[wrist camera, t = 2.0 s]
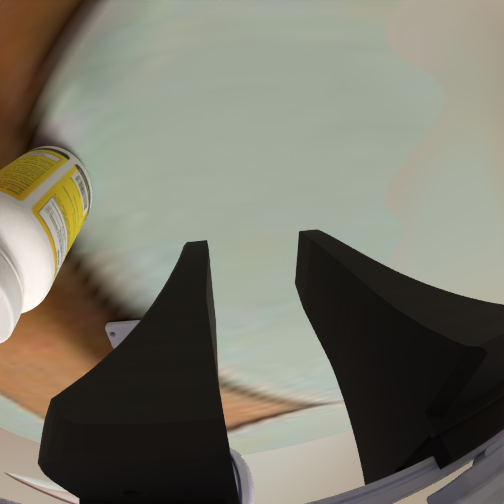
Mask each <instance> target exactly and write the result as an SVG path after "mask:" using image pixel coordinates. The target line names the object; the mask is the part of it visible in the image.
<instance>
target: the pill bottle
mask: <svg viewBox="0 0 504 504" xmlns="http://www.w3.org/2000/svg"><path fill="white" fill-rule="evenodd" d="M91 204H92V186H91V182H90V178H89V176H88V173H87V171H86V169H85V168H84V166H83V165H82V163H81V162H80V161H79V160H78V159H77V158H76V157H75V156H74V155H73V154H71V153H70V152H68V151H66V150H64V149H62V148H59V147H55V146H43V147H38V148H35V149H33V150H31V151H29V152H27V153H25V154H24V155H22V156H21V157H19V158H17V159H16V160H14V161H13V162H11V163H10V164H9V165H7V166H6V167H4V168H3V169H1V170H0V343H2V342H4V341H5V340H7V339H8V338H9V337H10V335H11V333H12V331H13V329H14V327H15V326H16V324H17V322H18V320H19V317H20V315H21V313H24V312H27V311H29V310H31V309H33V308H35V307H36V306H37V305H39V304H40V303H41V302H42V301H43V299H44V298H45V297H46V295H47V294H48V292H49V290H50V288H51V286H52V284H53V282H54V280H55V277H56V275H57V273H58V271H59V269H60V267H61V265H62V263H63V261H64V259H65V257H66V255H67V253H68V251H69V249H70V247H71V246H72V244H73V242H74V240H75V238H76V236H77V234H78V233H79V231H80V229H81V227H82V225H83V224H84V222H85V220H86V218H87V216H88V214H89V211H90V208H91Z"/></svg>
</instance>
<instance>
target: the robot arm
mask: <svg viewBox="0 0 504 504" xmlns="http://www.w3.org/2000/svg"><path fill="white" fill-rule="evenodd" d="M295 285H296V288H297V291H298V294H299V297H300V300H301V303H302V306H303V309H304V311H305V313H306V315H307V317H308V319H309V321H310V323H311V325H312V327H313V329H314V331H315V333H316V335H317V337H318V339H319V341H320V343H321V345H322V347H323V349H324V351H325V353H326V355H327V357H328V359H329V361H330V363H331V366H332V368H333V370H334V373H335V376H336V378H337V381H338V384H339V387H340V390H341V393H342V396H343V399H344V402H345V405H346V408H347V412H348V415H349V418H350V422H351V425H352V429H353V433H354V436H355V440H356V444H357V448H358V453H359V457H360V462H361V466H362V471H363V476H364V482H365V486H362V487H359V488H357V489H353V490H351V491H348V492H345V493H341V494H339V495H335V496H332V497H329V498H325V499H321V500H318V501H315V502H310V503H307V504H393V503H395V502H397V501H399V500H401V499H404V498H406V497H408V496H410V495H412V494H414V493H416V492H418V491H420V490H422V489H424V488H426V487H428V486H429V485H432V484H434V483H435V482H437V481H439V480H441V479H442V478H444V477H446V476H448V475H450V474H451V473H453V472H455V471H456V470H458V469H459V468H461V467H463V466H464V465H466V464H468V463H469V462H471V461H472V460H474V461H473V466H472V467H470V468H469V469H467V470H466V471H464V472H463V473H462V474H461V475H459V476H458V477H457V478H456V479H454V480H453V481H452V482H450V483H449V484H447V485H446V486H444V487H443V488H441V489H440V490H438V491H437V492H435V493H433V494H432V495H430V496H428V498H427V502H428V504H504V305H502V304H496V303H490V302H485V301H481V300H477V299H473V298H469V297H465V296H461V295H458V294H454V293H451V292H448V291H445V290H442V289H439V288H436V287H433V286H430V285H428V284H425V283H422V282H420V281H418V280H415V279H413V278H410V277H408V276H406V275H403V274H401V273H399V272H397V271H394V270H393V269H391V268H389V267H387V266H385V265H383V264H381V263H379V262H377V261H375V260H373V259H371V258H369V257H368V256H366V255H364V254H362V253H360V252H359V251H357V250H355V249H353V248H351V247H350V246H348V245H346V244H344V243H343V242H341V241H339V240H337V239H335V238H334V237H332V236H330V235H328V234H326V233H324V232H322V231H320V230H307V231H299V241H298V254H297V266H296V278H295ZM105 330H106V333H107V335H108V338H109V340H110V342H111V345H112V347H113V349H114V350H113V351H112V352H111V353H109V354H108V355H107V356H106V357H105V358H104V359H103V360H102V361H101V362H99V363H98V364H97V365H96V366H95V367H94V368H92V369H91V370H90V371H89V372H88V373H86V374H85V375H84V376H83V377H81V378H80V379H78V380H77V381H76V382H74V383H73V384H72V385H70V386H69V387H68V388H66V389H65V390H63V391H62V392H61V393H59V394H58V395H56V396H55V397H53V398H52V399H51V401H50V405H49V408H48V411H47V414H46V417H45V422H44V427H43V432H42V438H41V445H40V451H39V458H38V464H39V466H40V468H41V470H42V471H43V473H44V474H45V475H46V476H47V477H49V478H50V479H51V480H52V481H53V482H55V483H56V484H58V485H59V486H61V487H62V488H64V489H65V490H67V491H68V492H70V493H71V494H73V495H75V496H76V497H78V498H79V504H254V484H253V479H252V475H251V472H250V469H249V467H248V465H247V463H246V462H245V460H244V459H243V458H242V457H241V455H240V454H239V453H238V452H237V451H236V450H234V449H231V448H229V442H228V437H227V431H226V425H225V420H224V414H223V408H222V402H221V396H220V390H219V381H218V362H217V338H216V318H215V309H214V299H213V289H212V279H211V269H210V258H209V249H208V243H207V240H204V241H195V242H187V243H186V244H185V245H184V247H183V250H182V252H181V255H180V257H179V259H178V262H177V264H176V266H175V268H174V269H173V271H172V273H171V275H170V277H169V279H168V281H167V282H166V284H165V286H164V287H163V289H162V290H161V292H160V293H159V295H158V297H157V298H156V300H155V301H154V303H153V304H152V306H151V307H150V308H149V310H148V311H147V312H146V314H145V315H144V316H143V318H142V319H141V320H134V321H122V322H109V323H107V324H106V326H105ZM112 332H114V333H112ZM0 504H19V503H16V502H12V501H9V500H6V499H3V498H0Z"/></svg>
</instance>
